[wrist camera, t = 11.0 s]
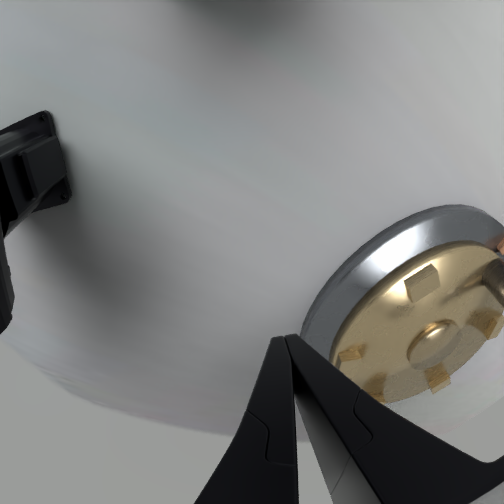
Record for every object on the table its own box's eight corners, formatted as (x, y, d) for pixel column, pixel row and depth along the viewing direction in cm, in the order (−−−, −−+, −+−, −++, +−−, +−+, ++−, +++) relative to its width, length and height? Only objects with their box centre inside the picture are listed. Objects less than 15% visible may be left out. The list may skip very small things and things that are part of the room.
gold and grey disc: (298, 413, 35) (301, 427, 33) (294, 223, 21) (301, 238, 20) (467, 362, 36) (473, 372, 34) (530, 196, 22) (543, 205, 20)
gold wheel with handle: (411, 399, 35) (443, 474, 24) (285, 380, 28) (310, 501, 18) (521, 283, 26) (580, 354, 16) (437, 196, 19) (560, 305, 9)
